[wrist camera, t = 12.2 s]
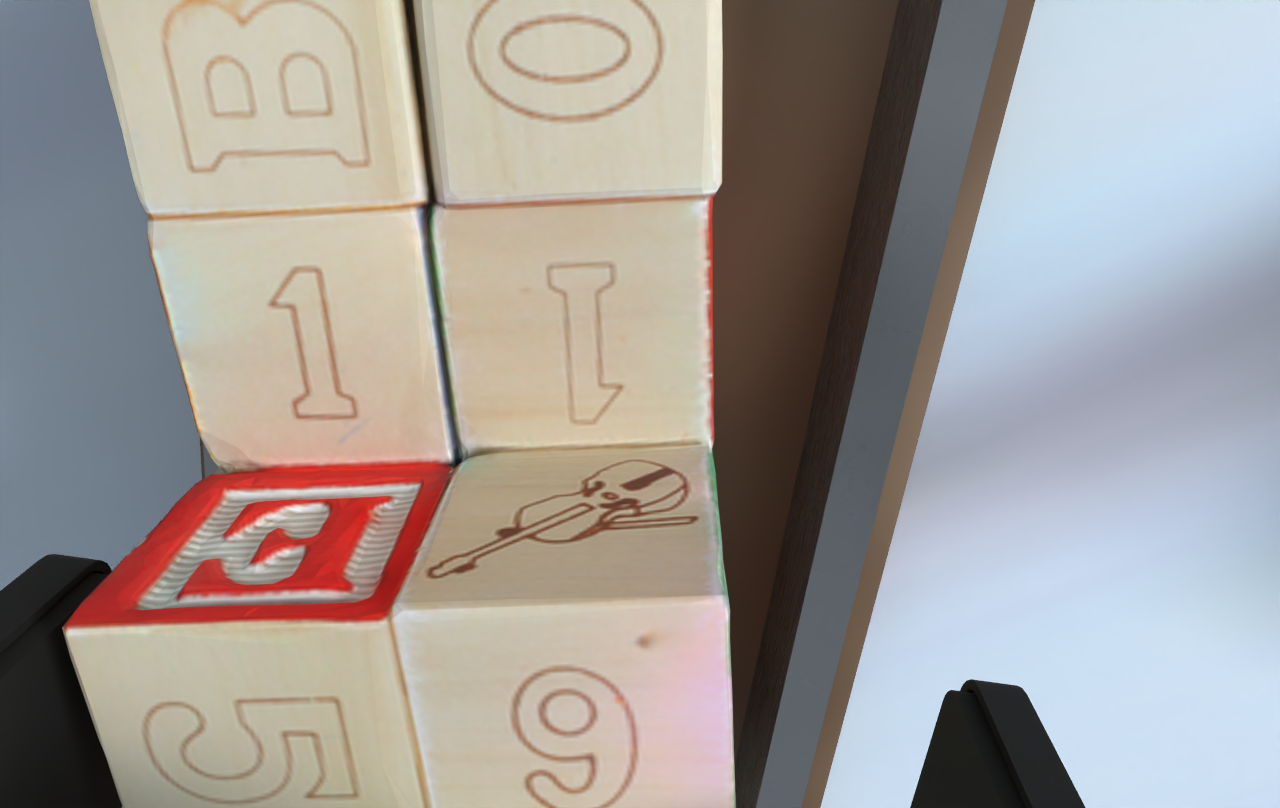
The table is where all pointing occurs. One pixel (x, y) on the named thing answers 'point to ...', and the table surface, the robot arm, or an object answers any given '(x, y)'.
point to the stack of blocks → (425, 408)
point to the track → (832, 328)
